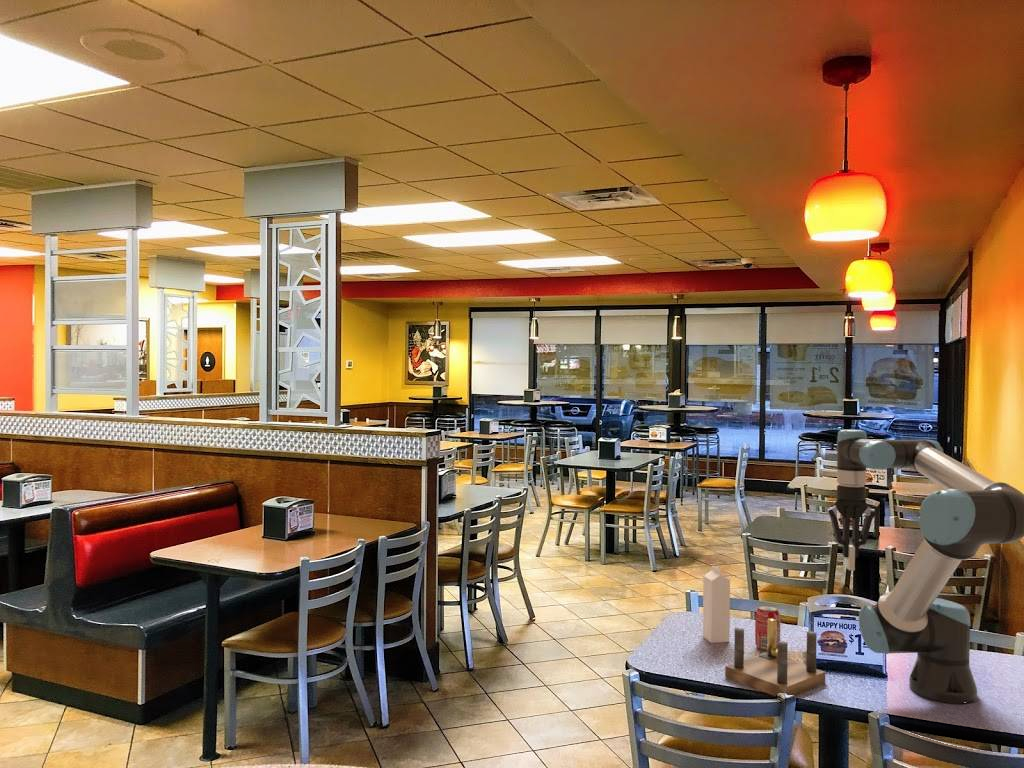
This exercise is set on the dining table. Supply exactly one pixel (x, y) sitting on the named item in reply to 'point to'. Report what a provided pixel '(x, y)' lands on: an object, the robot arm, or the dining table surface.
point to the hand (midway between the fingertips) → (850, 569)
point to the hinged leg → (772, 637)
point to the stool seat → (775, 668)
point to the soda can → (765, 624)
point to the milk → (716, 606)
